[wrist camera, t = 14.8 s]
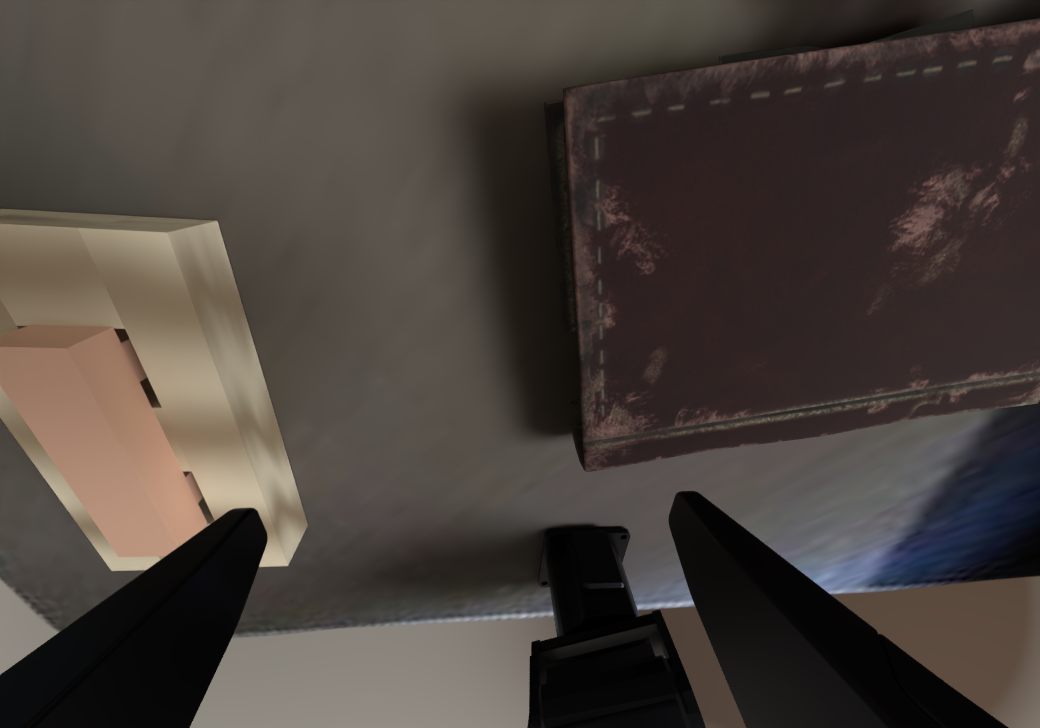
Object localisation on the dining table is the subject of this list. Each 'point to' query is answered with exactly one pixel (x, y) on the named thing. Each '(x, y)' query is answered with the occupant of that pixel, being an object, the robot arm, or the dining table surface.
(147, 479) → the pink rectangular block
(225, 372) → the cream two-hole slab
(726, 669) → the robot arm
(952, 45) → the diary
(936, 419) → the dining table surface
